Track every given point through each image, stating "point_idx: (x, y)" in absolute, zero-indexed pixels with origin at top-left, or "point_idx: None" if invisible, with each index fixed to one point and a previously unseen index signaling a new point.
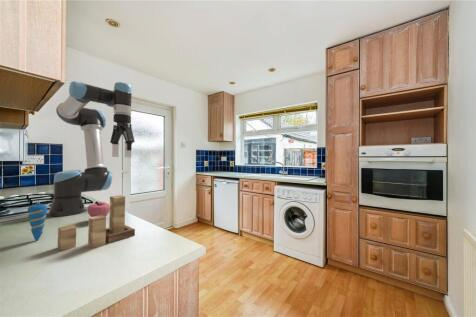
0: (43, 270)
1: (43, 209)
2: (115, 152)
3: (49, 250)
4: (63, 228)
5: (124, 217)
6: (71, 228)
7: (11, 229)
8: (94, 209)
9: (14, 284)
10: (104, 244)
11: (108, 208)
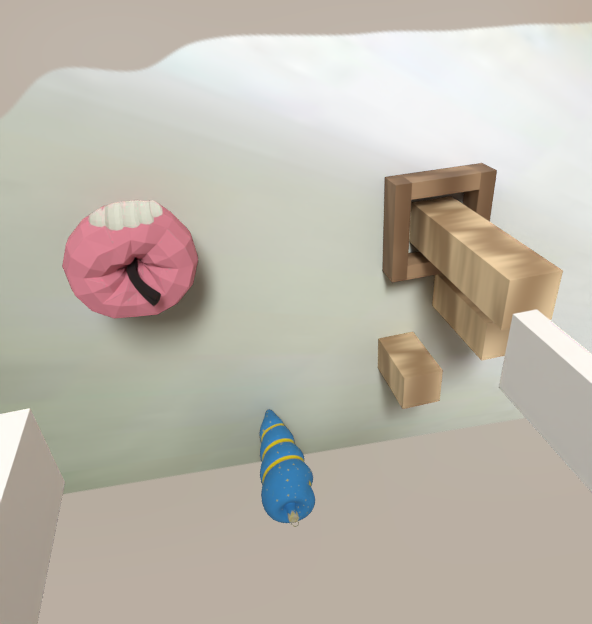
0: (490, 383)
1: (308, 482)
2: (32, 526)
3: (383, 381)
4: (427, 397)
5: (493, 225)
6: (440, 379)
7: (64, 481)
8: (185, 292)
9: (503, 412)
10: None
11: (174, 218)
